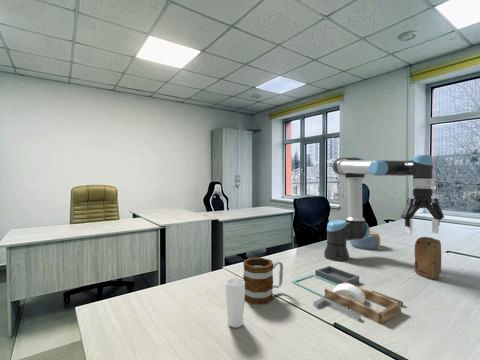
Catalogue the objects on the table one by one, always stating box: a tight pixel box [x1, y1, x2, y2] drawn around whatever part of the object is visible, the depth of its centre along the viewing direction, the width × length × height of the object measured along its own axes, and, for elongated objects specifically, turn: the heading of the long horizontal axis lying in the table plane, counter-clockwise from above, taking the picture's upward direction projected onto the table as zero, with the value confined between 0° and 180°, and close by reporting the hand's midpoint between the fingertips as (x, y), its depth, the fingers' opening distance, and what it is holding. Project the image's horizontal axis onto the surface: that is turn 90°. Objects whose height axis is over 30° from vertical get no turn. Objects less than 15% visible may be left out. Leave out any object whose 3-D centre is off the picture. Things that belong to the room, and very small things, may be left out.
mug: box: [242, 257, 284, 305], centre depth 110 cm, size 20×14×15 cm
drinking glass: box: [225, 277, 246, 329], centre depth 88 cm, size 7×7×15 cm
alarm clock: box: [349, 230, 381, 251], centre depth 187 cm, size 19×20×12 cm
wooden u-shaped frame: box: [324, 282, 402, 325], centre depth 102 cm, size 24×14×4 cm, turn 34°
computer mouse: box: [332, 283, 366, 305], centre depth 107 cm, size 6×13×6 cm, turn 58°
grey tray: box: [314, 265, 360, 285], centre depth 128 cm, size 17×11×3 cm, turn 34°
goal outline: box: [291, 274, 338, 298], centre depth 120 cm, size 19×16×1 cm
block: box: [414, 236, 442, 280], centre depth 132 cm, size 11×8×20 cm
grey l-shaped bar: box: [312, 297, 362, 321], centre depth 96 cm, size 16×7×2 cm, turn 35°
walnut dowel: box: [370, 290, 404, 307], centre depth 106 cm, size 12×2×2 cm, turn 34°
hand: (422, 233), depth 118 cm, fingers open, 13 cm apart
